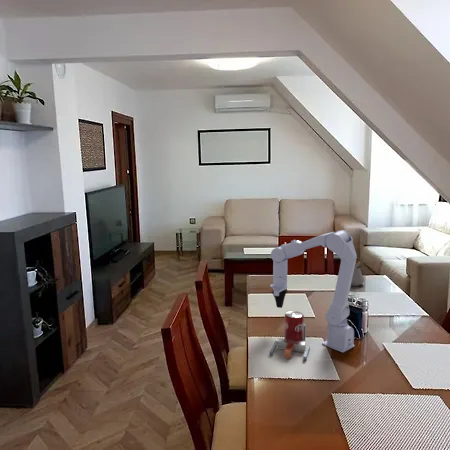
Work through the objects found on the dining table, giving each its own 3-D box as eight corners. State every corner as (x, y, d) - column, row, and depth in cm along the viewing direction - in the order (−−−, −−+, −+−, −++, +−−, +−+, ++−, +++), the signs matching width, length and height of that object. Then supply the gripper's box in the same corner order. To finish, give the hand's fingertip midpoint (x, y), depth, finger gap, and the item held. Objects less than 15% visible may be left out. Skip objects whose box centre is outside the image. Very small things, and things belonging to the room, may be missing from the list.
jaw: (279, 344, 157) (279, 338, 157) (305, 348, 154) (305, 341, 154) (273, 356, 149) (274, 348, 148) (301, 360, 146) (301, 353, 145)
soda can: (281, 345, 158) (282, 315, 156) (287, 337, 164) (288, 309, 162) (299, 349, 154) (300, 319, 152) (305, 341, 161) (306, 312, 159)
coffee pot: (340, 280, 237) (341, 255, 234) (361, 281, 236) (362, 255, 233) (348, 293, 216) (349, 265, 213) (370, 293, 215) (372, 265, 212)
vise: (280, 334, 167) (280, 320, 166) (313, 339, 162) (313, 325, 161) (269, 355, 150) (269, 340, 149) (306, 361, 145) (306, 345, 144)
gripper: (274, 269, 176) (274, 300, 178) (266, 279, 162) (266, 312, 165) (290, 271, 174) (290, 301, 176) (284, 281, 160) (283, 314, 162)
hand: (279, 307), depth 170 cm, fingers closed
